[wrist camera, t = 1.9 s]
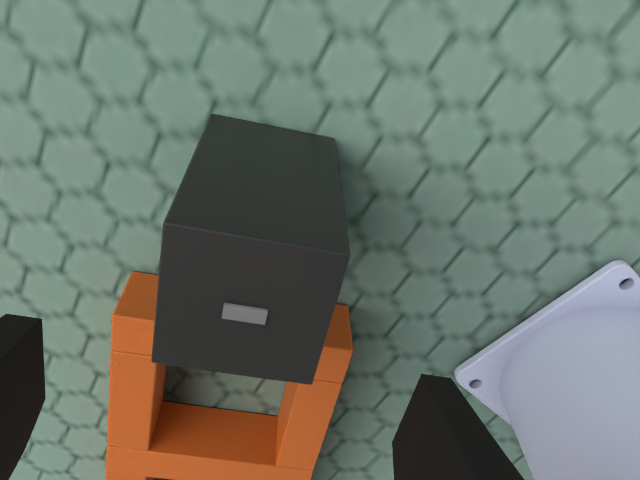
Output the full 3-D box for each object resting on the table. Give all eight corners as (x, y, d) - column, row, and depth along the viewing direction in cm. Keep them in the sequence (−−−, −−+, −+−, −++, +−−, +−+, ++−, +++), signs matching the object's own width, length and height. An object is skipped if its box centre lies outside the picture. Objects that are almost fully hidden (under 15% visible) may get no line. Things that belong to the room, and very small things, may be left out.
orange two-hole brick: (132, 270, 20) (111, 315, 18) (348, 305, 21) (354, 351, 19) (118, 510, 28) (102, 562, 26) (279, 526, 29) (277, 578, 27)
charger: (334, 137, 18) (351, 257, 12) (309, 241, 20) (312, 389, 14) (210, 112, 17) (162, 224, 11) (197, 221, 19) (149, 366, 13)
